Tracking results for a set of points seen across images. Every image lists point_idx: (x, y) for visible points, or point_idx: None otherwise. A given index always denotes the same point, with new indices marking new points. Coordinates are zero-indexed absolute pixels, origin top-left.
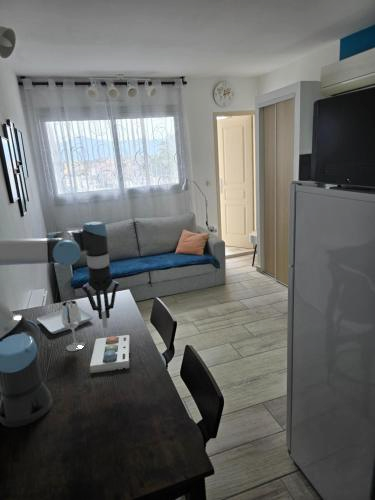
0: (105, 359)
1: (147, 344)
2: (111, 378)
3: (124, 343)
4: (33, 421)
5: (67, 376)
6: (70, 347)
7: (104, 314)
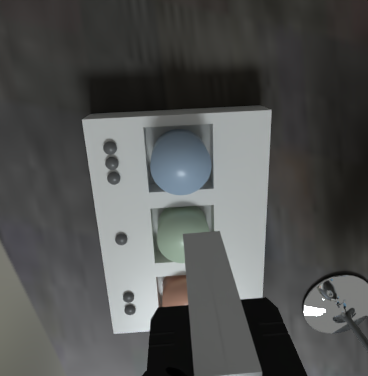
0: (199, 139)
1: (35, 278)
2: (163, 44)
3: (125, 270)
4: None
5: (359, 99)
6: (358, 295)
7: (209, 335)
